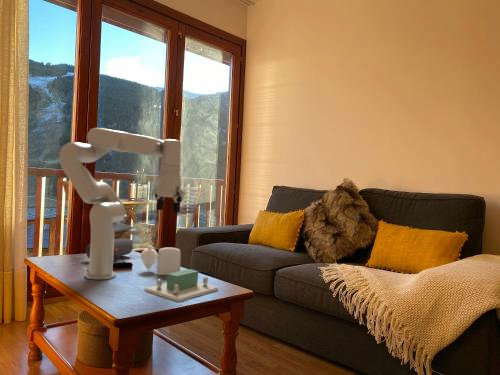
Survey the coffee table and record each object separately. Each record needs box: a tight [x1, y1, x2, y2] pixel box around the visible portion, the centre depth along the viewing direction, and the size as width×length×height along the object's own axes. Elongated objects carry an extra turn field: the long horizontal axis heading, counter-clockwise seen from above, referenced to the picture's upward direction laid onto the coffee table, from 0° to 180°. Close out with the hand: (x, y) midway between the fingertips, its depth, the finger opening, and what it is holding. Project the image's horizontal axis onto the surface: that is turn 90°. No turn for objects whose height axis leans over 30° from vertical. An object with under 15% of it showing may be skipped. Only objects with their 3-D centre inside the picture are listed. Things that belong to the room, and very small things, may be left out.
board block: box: [166, 268, 199, 291], centre depth 158 cm, size 5×12×6 cm, turn 145°
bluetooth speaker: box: [85, 238, 134, 260], centre depth 205 cm, size 23×9×10 cm, turn 149°
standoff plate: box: [145, 276, 219, 303], centre depth 158 cm, size 18×22×5 cm
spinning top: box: [140, 244, 158, 272], centre depth 185 cm, size 8×8×12 cm
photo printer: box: [156, 246, 182, 276], centre depth 181 cm, size 10×4×12 cm, turn 100°
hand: (167, 211), depth 165 cm, fingers open, 9 cm apart
